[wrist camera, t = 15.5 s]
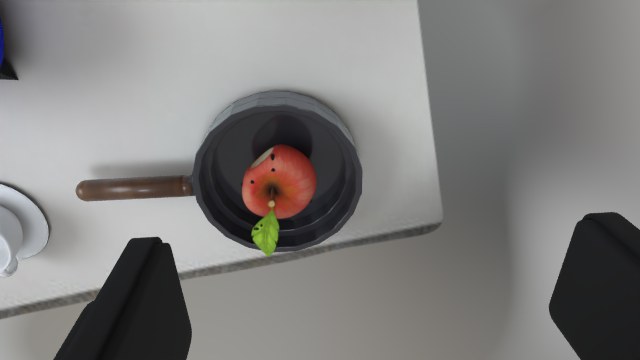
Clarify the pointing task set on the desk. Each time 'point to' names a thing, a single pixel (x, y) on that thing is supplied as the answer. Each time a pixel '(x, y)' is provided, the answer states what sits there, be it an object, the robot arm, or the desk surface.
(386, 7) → the desk surface
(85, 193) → the pan handle
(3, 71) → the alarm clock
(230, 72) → the desk surface
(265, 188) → the apple
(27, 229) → the teacup
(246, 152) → the pan
